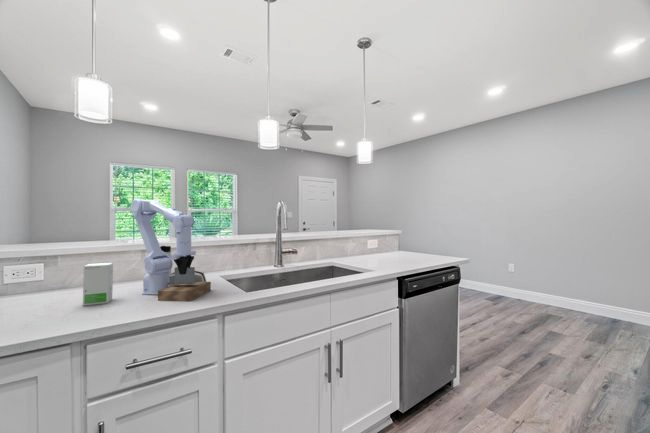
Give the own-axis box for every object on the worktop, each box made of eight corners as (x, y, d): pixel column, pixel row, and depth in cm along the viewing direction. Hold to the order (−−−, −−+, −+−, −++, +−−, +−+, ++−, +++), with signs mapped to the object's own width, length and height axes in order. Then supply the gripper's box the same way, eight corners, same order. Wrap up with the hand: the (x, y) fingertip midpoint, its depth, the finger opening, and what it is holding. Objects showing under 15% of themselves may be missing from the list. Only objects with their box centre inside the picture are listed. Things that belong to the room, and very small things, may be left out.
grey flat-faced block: (174, 283, 116) (174, 267, 116) (177, 282, 118) (177, 266, 118) (192, 284, 116) (191, 267, 116) (194, 283, 118) (194, 267, 118)
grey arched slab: (208, 284, 136) (206, 267, 132) (205, 290, 131) (202, 272, 128) (174, 285, 134) (170, 268, 131) (169, 291, 130) (166, 273, 126)
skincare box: (82, 306, 104) (81, 266, 104) (88, 301, 110) (88, 263, 110) (109, 303, 108) (108, 264, 108) (113, 298, 114) (113, 261, 114)
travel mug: (156, 286, 133) (155, 246, 133) (157, 283, 139) (157, 245, 139) (171, 285, 136) (170, 245, 136) (171, 282, 142) (171, 244, 142)
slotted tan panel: (157, 300, 110) (157, 290, 110) (182, 289, 126) (182, 281, 126) (190, 301, 109) (190, 291, 109) (210, 290, 125) (210, 281, 125)
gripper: (182, 244, 109) (182, 277, 109) (201, 240, 124) (202, 270, 124) (165, 244, 110) (166, 277, 110) (187, 240, 125) (187, 270, 125)
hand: (184, 273), depth 117 cm, fingers closed on grey flat-faced block, 2 cm apart
